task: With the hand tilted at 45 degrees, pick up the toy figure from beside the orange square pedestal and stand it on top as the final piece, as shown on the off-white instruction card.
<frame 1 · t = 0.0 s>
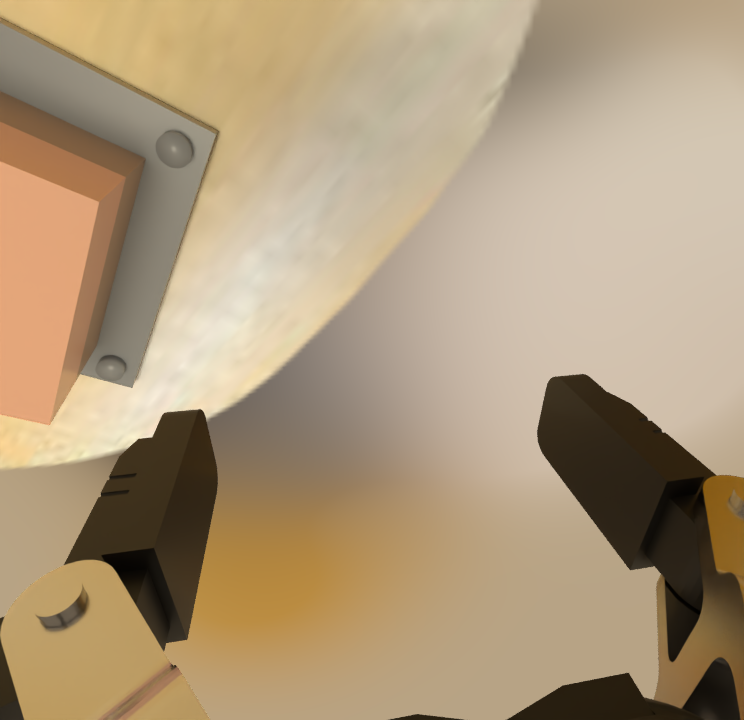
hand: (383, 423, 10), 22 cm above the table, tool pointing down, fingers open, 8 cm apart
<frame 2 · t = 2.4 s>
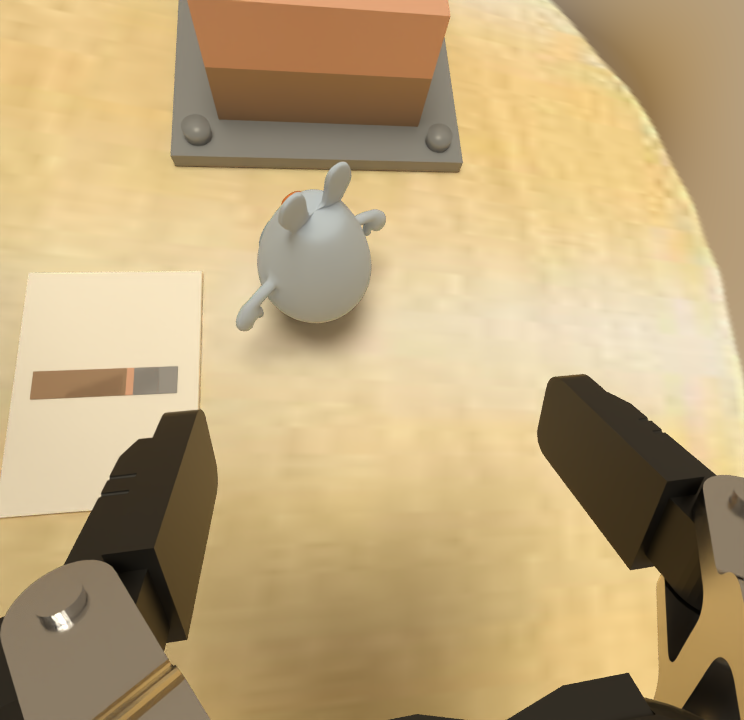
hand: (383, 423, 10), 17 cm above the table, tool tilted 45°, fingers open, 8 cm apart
orange square pedestal: (317, 57, 34), on the table
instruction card: (110, 383, 26), on the table
toy figure: (314, 301, 29), on the table
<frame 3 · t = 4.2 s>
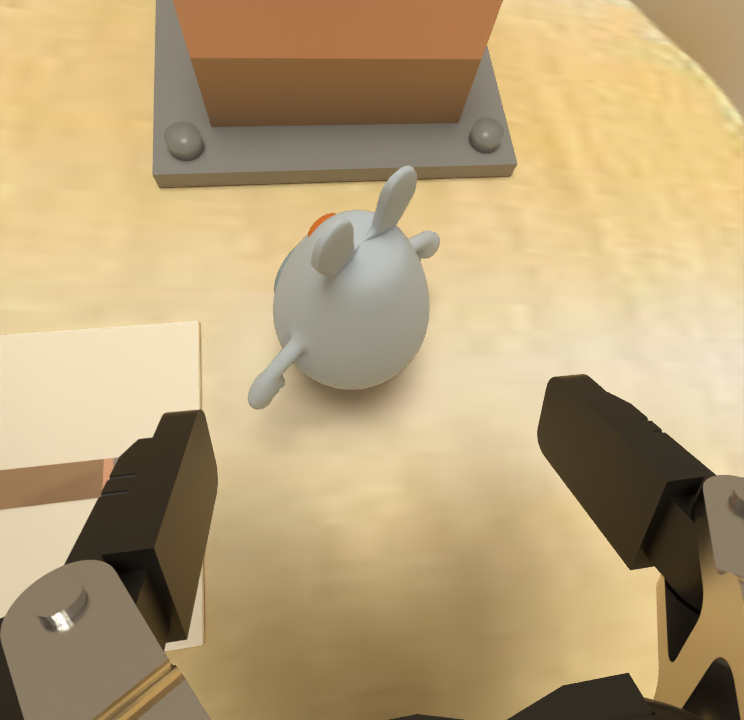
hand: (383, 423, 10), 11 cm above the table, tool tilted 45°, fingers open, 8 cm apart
orange square pedestal: (327, 48, 28), on the table
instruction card: (82, 480, 19), on the table
toy figure: (344, 350, 22), on the table
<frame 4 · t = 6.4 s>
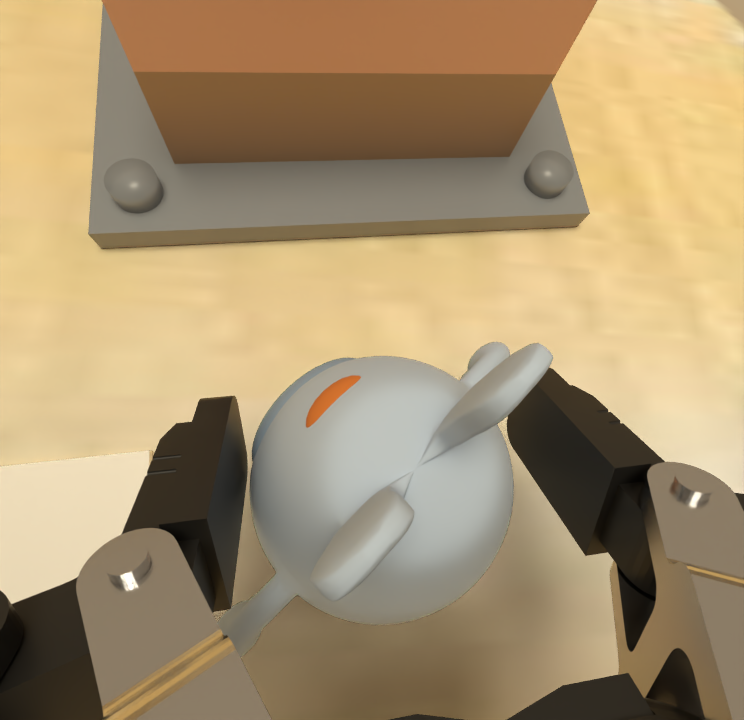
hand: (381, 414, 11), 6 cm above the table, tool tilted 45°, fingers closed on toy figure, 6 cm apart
orange square pedestal: (333, 54, 21), on the table
toy figure: (360, 486, 16), on the table, touching gripper
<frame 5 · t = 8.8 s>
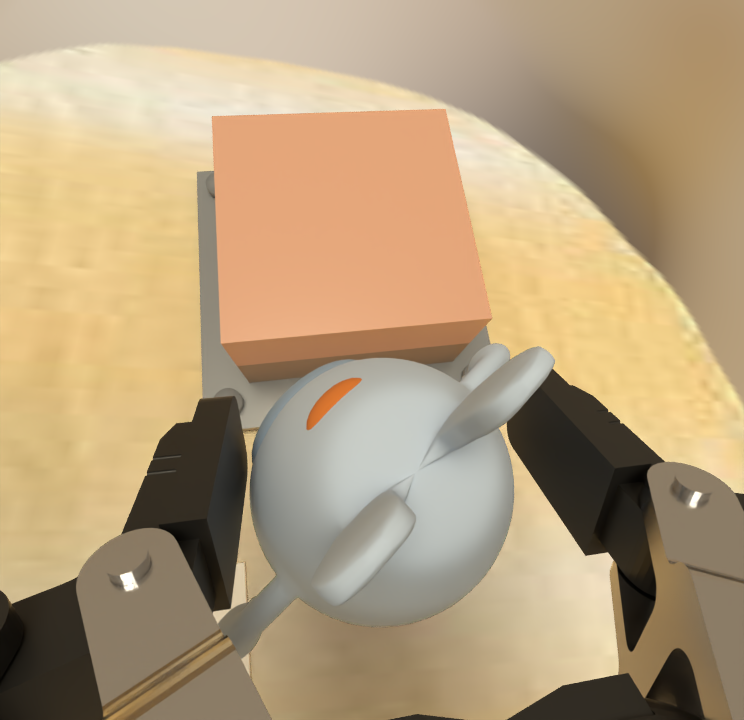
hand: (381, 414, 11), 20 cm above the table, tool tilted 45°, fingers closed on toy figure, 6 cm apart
orange square pedestal: (341, 285, 33), on the table
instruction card: (159, 711, 25), on the table
toy figure: (359, 487, 16), point 14 cm above the table, touching gripper
when the fingers open (16 cm above the table, at t = 11.3 s): toy figure drops 1 cm, resting on orange square pedestal.
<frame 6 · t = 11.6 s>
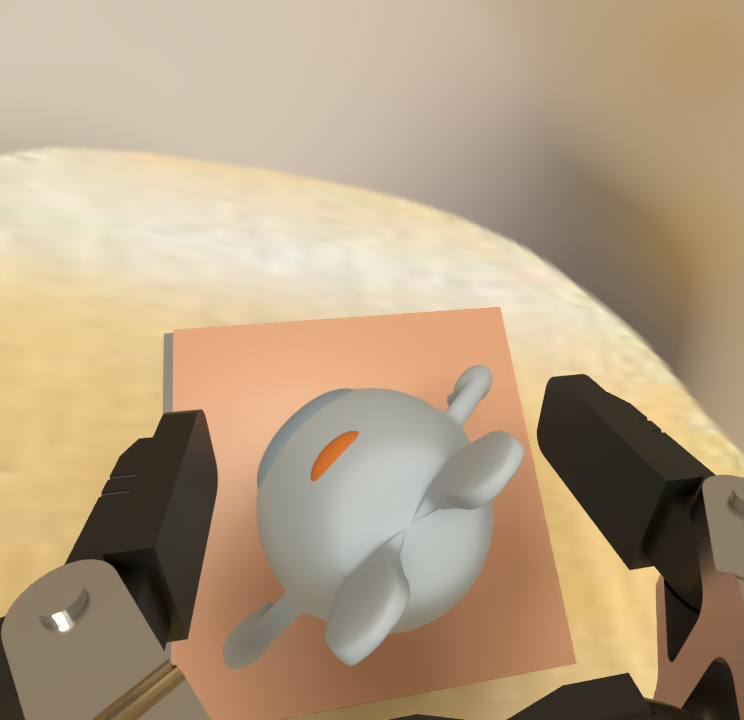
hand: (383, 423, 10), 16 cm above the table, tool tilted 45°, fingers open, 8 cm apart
orange square pedestal: (349, 489, 26), on the table
toy figure: (353, 488, 17), point 9 cm above the table, touching orange square pedestal
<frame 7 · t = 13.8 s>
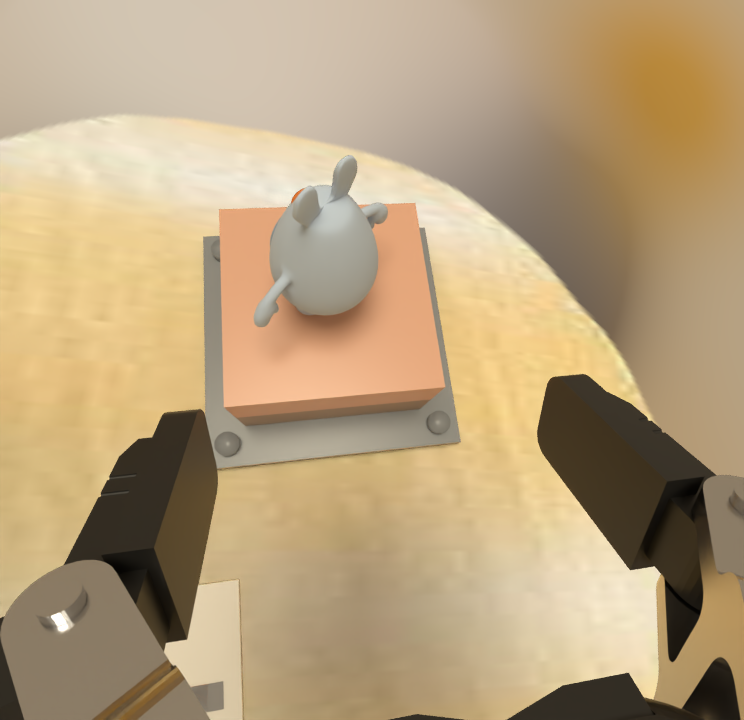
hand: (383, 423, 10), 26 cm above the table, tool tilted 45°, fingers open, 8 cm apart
orange square pedestal: (327, 339, 38), on the table
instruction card: (166, 703, 30), on the table
toy figure: (323, 297, 30), point 9 cm above the table, touching orange square pedestal
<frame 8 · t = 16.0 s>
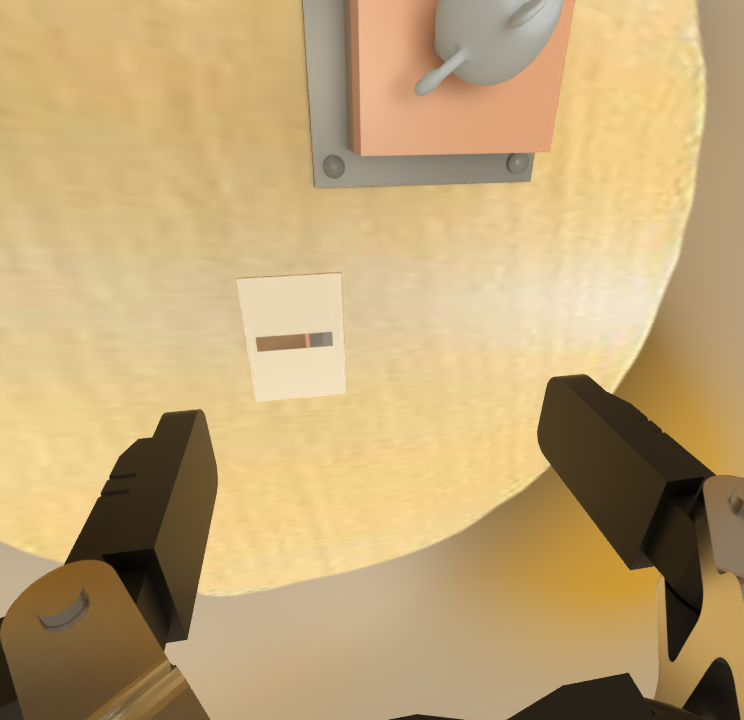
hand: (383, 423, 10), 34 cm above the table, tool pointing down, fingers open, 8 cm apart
orange square pedestal: (429, 52, 36), on the table
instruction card: (295, 340, 46), on the table
toy figure: (461, 34, 28), point 9 cm above the table, touching orange square pedestal
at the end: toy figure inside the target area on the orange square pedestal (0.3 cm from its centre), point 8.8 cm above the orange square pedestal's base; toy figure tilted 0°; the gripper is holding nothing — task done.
